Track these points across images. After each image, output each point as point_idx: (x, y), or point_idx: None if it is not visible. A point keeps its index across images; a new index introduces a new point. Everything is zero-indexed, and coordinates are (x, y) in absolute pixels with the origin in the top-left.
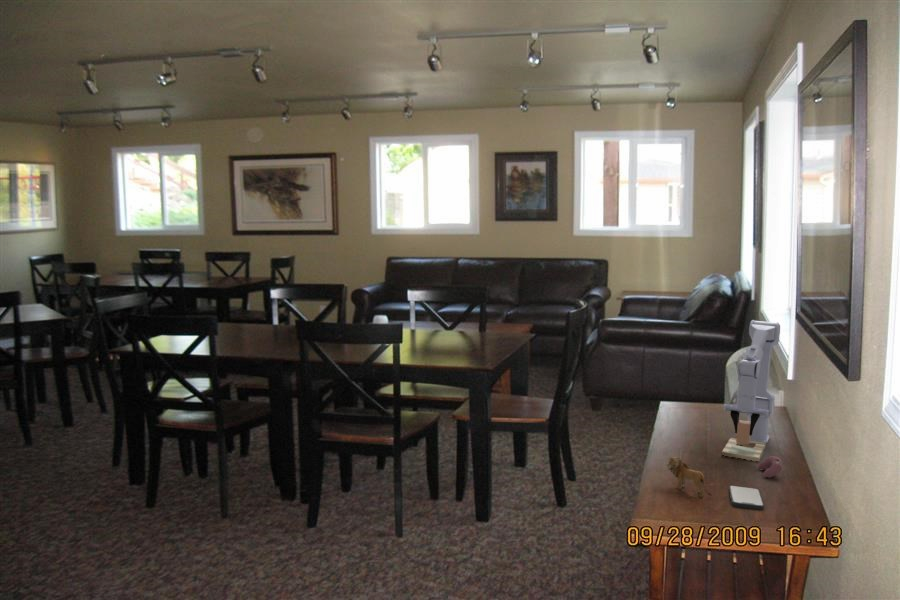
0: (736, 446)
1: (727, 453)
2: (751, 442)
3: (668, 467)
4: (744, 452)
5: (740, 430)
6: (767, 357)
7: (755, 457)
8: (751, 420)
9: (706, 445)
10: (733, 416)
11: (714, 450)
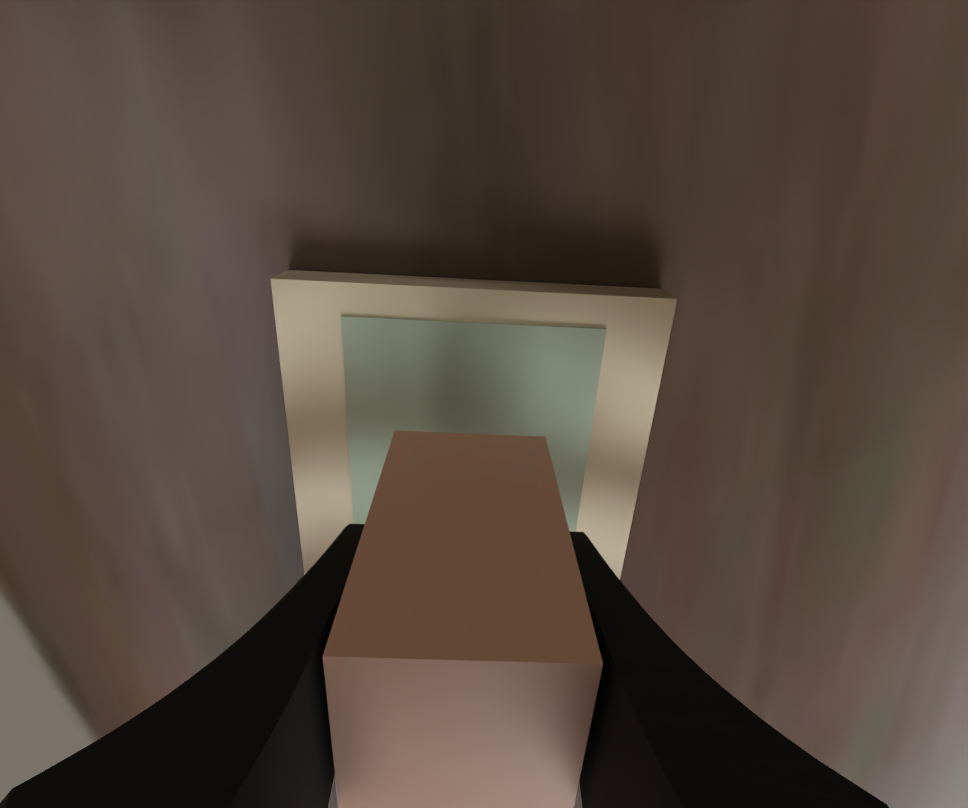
0: None
1: (613, 292)
2: None
3: None
4: (442, 386)
5: (515, 542)
6: None
7: (311, 279)
8: (245, 739)
9: (775, 546)
10: (794, 794)
11: (718, 441)
